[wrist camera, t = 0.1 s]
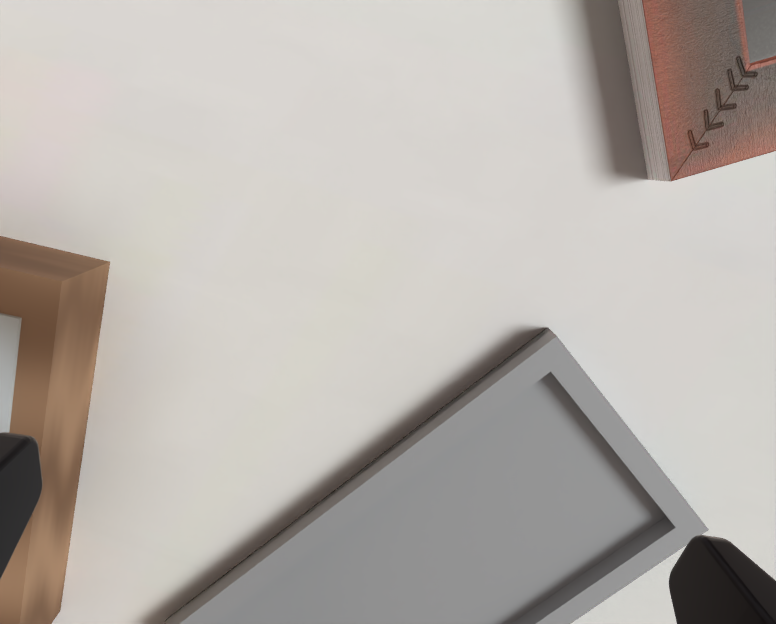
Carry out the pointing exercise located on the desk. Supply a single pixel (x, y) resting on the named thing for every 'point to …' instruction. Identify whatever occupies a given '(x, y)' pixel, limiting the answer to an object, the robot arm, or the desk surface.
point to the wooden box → (46, 405)
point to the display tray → (474, 516)
